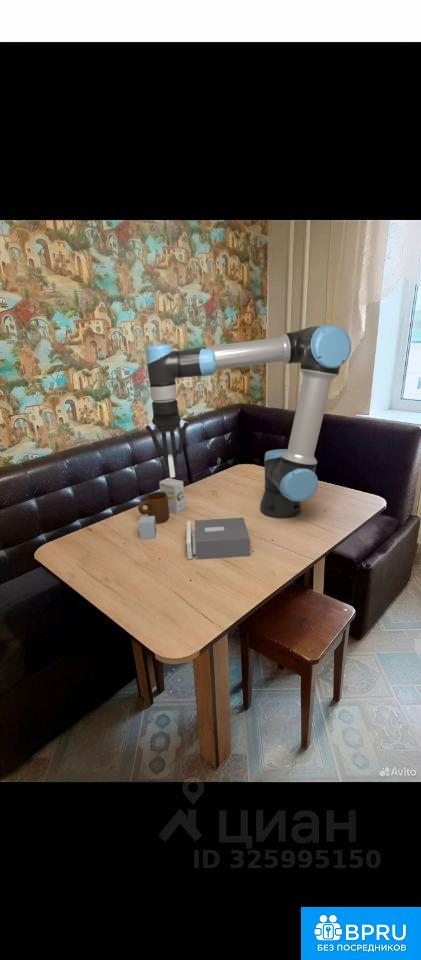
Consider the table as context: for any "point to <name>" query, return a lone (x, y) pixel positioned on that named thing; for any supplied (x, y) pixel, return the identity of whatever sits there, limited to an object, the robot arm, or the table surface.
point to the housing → (221, 538)
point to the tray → (190, 541)
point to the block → (147, 527)
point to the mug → (156, 507)
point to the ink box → (173, 494)
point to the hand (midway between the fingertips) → (172, 475)
